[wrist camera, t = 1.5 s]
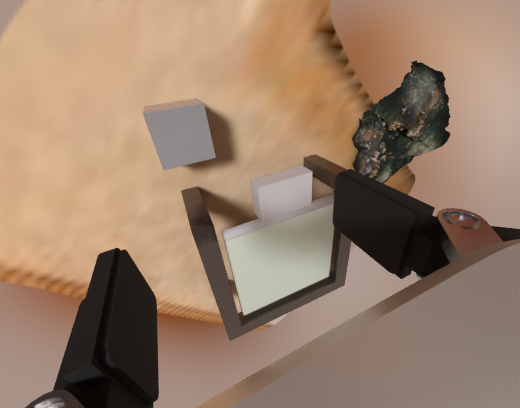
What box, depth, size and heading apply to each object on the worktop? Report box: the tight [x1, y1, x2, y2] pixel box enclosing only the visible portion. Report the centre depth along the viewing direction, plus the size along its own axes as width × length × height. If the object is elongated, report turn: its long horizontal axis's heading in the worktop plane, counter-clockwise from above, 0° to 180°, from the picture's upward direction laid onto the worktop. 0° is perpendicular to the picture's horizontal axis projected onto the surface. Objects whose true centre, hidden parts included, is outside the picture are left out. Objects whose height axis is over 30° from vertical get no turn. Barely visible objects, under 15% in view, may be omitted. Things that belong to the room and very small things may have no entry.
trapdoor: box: [222, 165, 334, 315], centre depth 27 cm, size 19×14×2 cm
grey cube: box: [143, 99, 216, 170], centre depth 22 cm, size 5×5×5 cm
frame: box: [181, 154, 351, 341], centre depth 32 cm, size 20×20×9 cm
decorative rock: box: [353, 61, 450, 183], centre depth 35 cm, size 19×6×15 cm
